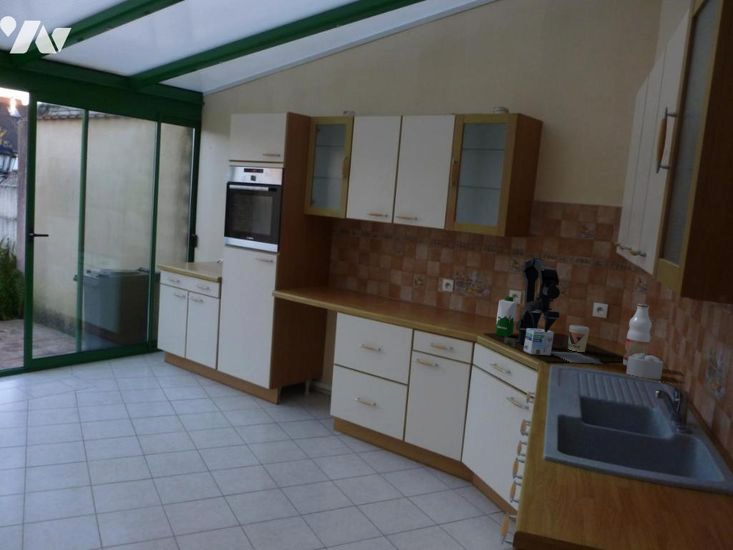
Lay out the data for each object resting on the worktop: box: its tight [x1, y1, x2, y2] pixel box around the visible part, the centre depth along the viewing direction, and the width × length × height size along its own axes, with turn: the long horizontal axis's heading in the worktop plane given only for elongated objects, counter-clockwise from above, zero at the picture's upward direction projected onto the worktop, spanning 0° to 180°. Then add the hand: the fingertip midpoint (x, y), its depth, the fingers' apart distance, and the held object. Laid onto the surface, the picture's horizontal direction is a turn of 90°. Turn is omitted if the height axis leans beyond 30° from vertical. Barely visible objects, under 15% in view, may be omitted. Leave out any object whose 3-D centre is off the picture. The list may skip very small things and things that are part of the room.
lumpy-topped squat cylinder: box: [625, 353, 664, 380], centre depth 255 cm, size 10×13×9 cm
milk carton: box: [495, 295, 518, 338], centre depth 316 cm, size 9×9×20 cm
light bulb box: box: [523, 328, 555, 356], centre depth 278 cm, size 11×7×11 cm, turn 105°
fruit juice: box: [622, 303, 653, 367], centre depth 272 cm, size 9×9×28 cm
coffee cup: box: [567, 324, 591, 353], centre depth 294 cm, size 9×9×12 cm
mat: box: [551, 351, 603, 365], centre depth 276 cm, size 18×16×1 cm
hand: (540, 329), depth 278 cm, fingers open, 9 cm apart
